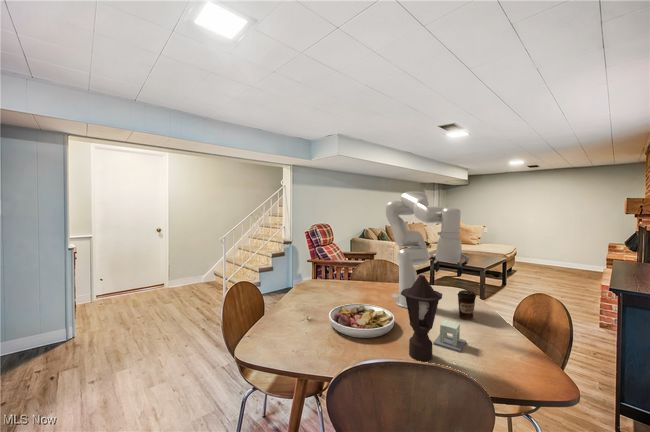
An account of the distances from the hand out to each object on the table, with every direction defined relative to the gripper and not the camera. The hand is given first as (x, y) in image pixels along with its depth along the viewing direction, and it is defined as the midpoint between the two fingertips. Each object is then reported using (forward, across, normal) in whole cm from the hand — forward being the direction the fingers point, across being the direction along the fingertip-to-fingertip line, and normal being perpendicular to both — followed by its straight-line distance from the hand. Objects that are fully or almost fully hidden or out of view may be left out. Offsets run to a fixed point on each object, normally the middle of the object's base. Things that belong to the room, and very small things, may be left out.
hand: (447, 273), depth 126 cm
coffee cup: (+26, +5, +18) cm, 31 cm away
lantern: (+24, 0, -31) cm, 40 cm away
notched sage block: (+24, +6, -14) cm, 28 cm away
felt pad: (+24, +6, -14) cm, 29 cm away
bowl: (+26, -31, -22) cm, 46 cm away
